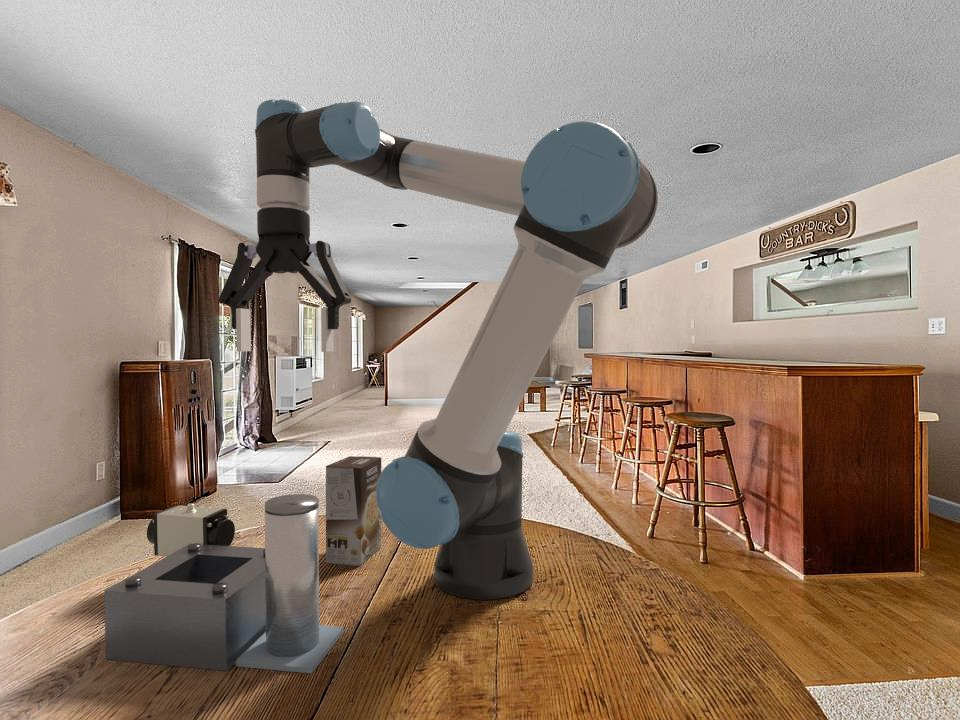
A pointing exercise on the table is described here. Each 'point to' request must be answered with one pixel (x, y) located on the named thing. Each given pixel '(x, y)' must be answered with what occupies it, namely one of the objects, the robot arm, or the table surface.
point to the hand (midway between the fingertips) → (285, 351)
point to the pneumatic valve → (189, 528)
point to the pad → (300, 663)
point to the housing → (189, 608)
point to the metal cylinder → (292, 574)
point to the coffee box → (352, 510)
